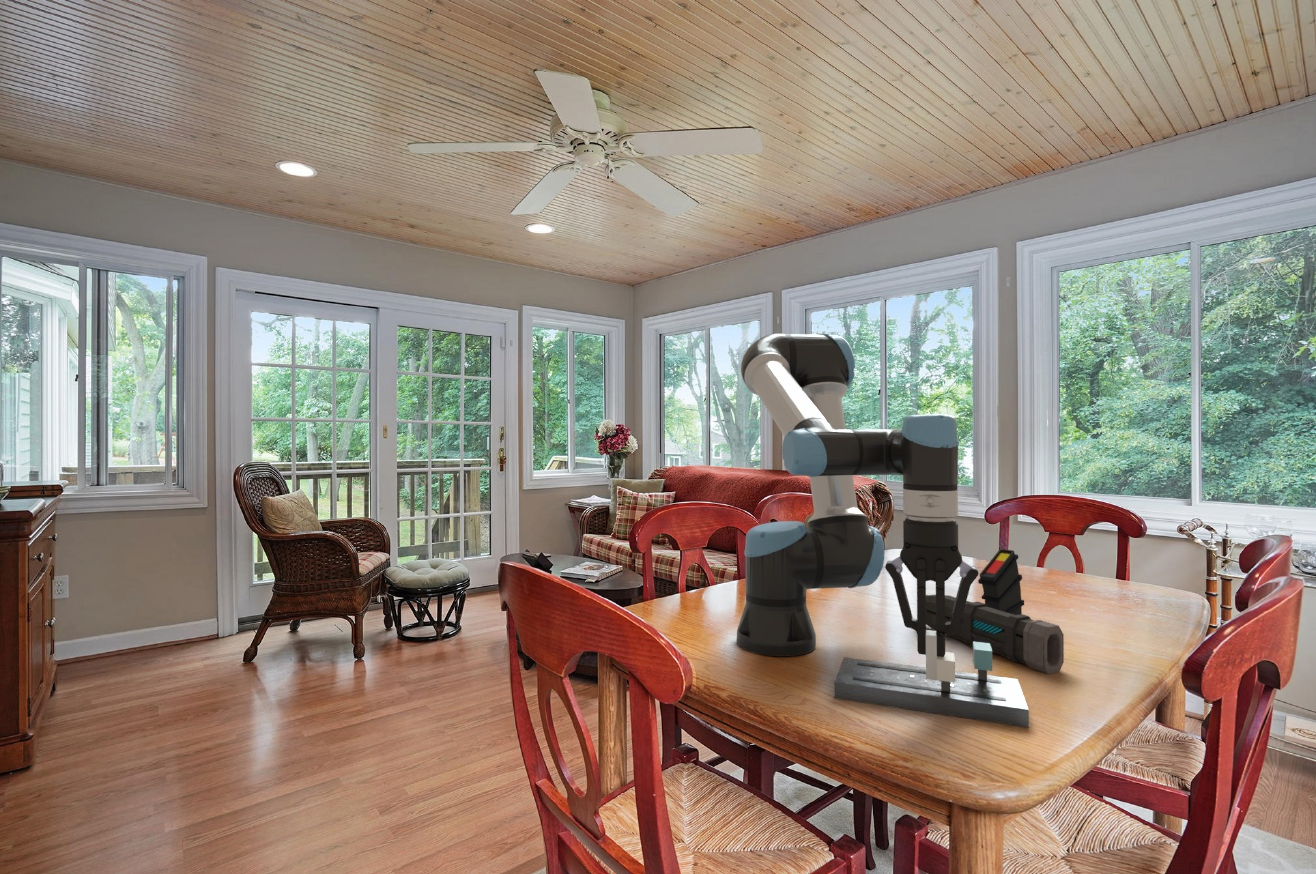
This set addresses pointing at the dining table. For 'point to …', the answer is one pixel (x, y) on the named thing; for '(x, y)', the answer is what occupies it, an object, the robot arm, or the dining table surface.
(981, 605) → the tube
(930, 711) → the console
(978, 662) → the fader far
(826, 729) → the dining table surface
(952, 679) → the fader near
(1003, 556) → the magazine
